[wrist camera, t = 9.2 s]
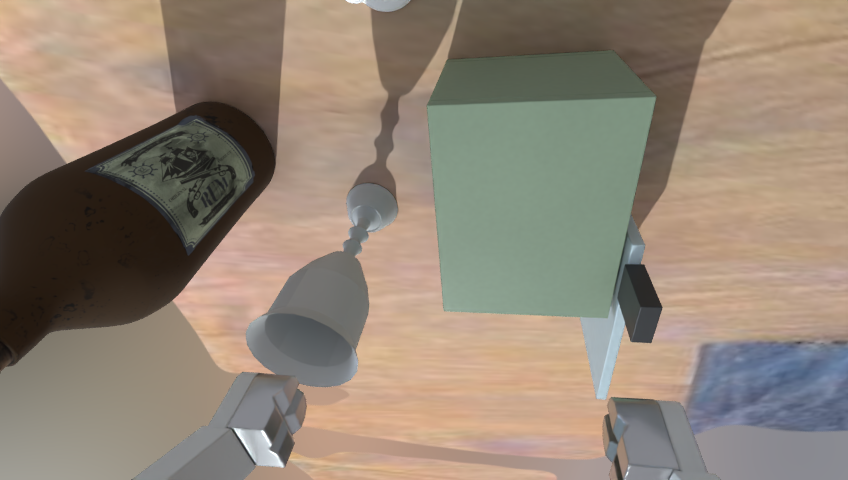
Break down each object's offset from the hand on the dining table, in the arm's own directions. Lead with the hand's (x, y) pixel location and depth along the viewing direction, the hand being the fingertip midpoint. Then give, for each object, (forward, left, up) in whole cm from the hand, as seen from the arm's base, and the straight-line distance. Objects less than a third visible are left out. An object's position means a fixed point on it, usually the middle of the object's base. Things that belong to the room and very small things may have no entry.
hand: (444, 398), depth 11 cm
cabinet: (+6, +3, -28) cm, 29 cm away
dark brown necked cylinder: (+5, -24, -28) cm, 37 cm away
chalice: (+11, -11, -28) cm, 32 cm away
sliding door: (+15, +10, -27) cm, 33 cm away
